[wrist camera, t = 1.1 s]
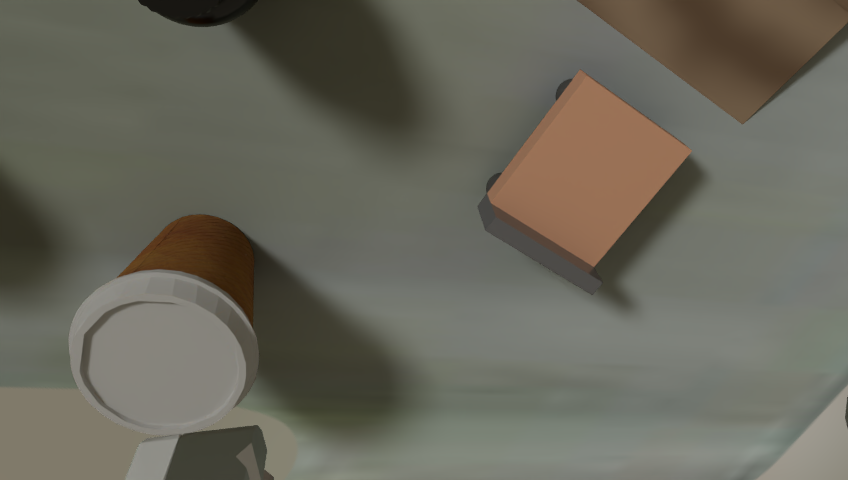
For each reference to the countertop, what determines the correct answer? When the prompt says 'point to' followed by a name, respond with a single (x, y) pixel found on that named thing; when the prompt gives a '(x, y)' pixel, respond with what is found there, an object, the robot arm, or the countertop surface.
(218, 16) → the supplement bottle
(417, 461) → the countertop surface
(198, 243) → the disposable coffee cup
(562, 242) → the trolley
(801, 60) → the loading dock
